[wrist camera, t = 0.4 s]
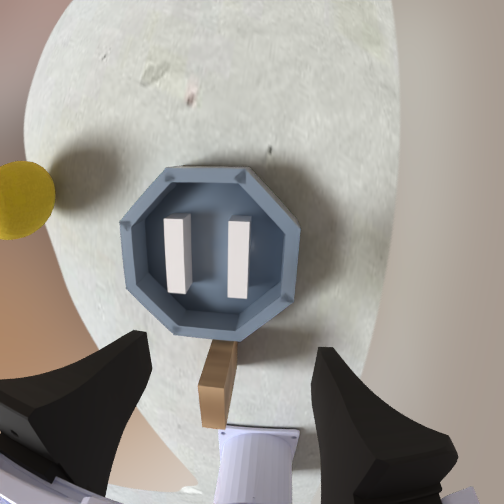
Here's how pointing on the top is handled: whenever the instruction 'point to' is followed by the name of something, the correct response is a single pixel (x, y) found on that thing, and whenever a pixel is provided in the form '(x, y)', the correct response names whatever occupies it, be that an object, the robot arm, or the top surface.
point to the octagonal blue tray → (210, 251)
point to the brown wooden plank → (217, 383)
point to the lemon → (24, 199)
